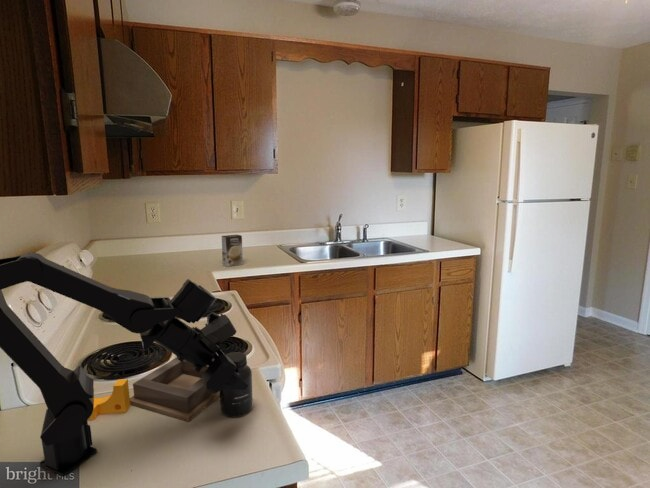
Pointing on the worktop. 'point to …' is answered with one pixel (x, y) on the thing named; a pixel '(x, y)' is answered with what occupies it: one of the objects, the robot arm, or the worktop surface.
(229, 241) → the coffee box
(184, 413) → the grey-brown square frame
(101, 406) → the orange notched part
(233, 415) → the supplement bottle
